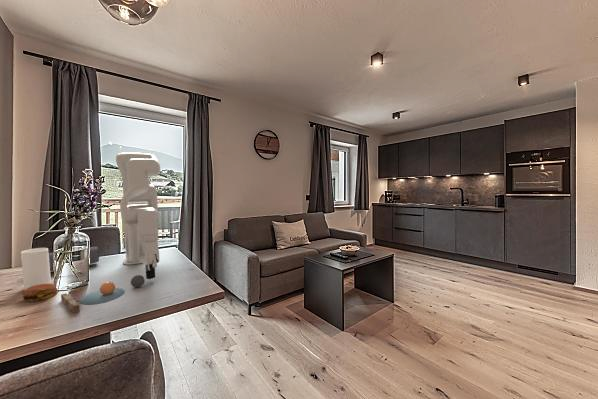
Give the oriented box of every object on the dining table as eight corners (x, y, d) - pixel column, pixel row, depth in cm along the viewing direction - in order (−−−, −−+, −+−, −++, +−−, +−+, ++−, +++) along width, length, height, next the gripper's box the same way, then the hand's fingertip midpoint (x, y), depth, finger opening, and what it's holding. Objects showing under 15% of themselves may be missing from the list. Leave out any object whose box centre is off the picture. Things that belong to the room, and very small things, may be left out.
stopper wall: (61, 300, 100) (60, 294, 100) (66, 299, 101) (66, 293, 101) (74, 313, 90) (73, 306, 90) (79, 311, 91) (79, 304, 91)
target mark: (74, 297, 102) (74, 297, 102) (116, 285, 113) (116, 285, 113) (86, 308, 94) (86, 307, 94) (130, 294, 105) (130, 293, 105)
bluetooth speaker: (97, 261, 147) (95, 244, 147) (99, 265, 141) (98, 247, 140) (40, 272, 132) (38, 252, 131) (40, 277, 125) (38, 256, 124)
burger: (44, 291, 109) (43, 280, 109) (63, 292, 108) (62, 281, 107) (15, 302, 99) (14, 290, 99) (36, 304, 98) (34, 292, 97)
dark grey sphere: (139, 270, 114) (140, 279, 116) (127, 277, 110) (128, 285, 112) (146, 276, 112) (147, 285, 114) (135, 283, 108) (136, 291, 110)
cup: (37, 290, 109) (34, 252, 108) (18, 290, 109) (14, 252, 108) (56, 283, 117) (53, 247, 116) (38, 283, 118) (35, 247, 116)
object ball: (115, 286, 109) (103, 295, 106) (107, 277, 107) (95, 287, 104) (119, 288, 106) (107, 298, 103) (111, 280, 104) (98, 290, 101)
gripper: (131, 237, 118) (134, 277, 119) (147, 241, 109) (149, 284, 110) (149, 234, 124) (151, 272, 125) (165, 238, 115) (167, 279, 117)
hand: (150, 278), depth 118 cm, fingers closed
